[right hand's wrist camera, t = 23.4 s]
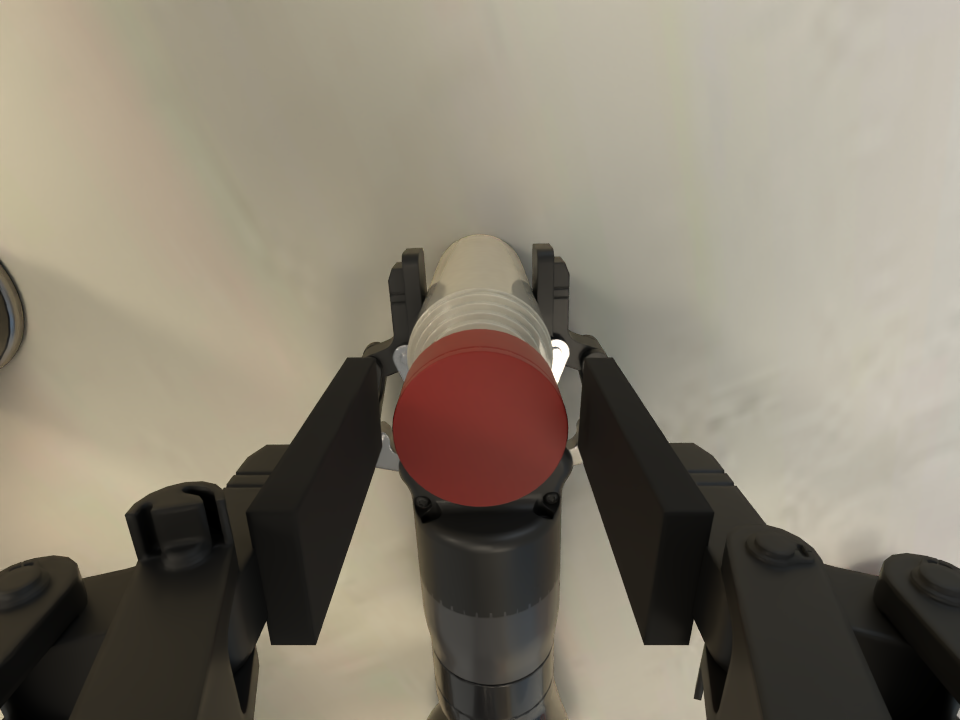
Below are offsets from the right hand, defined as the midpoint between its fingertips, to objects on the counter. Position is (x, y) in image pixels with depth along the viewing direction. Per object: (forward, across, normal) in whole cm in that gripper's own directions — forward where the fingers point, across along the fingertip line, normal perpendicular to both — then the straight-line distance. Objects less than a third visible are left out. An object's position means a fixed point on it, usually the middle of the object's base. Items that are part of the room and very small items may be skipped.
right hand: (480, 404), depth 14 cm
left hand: (+10, 0, -3) cm, 10 cm away
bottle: (+16, 0, 0) cm, 16 cm away
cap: (-1, 0, 0) cm, 1 cm away
